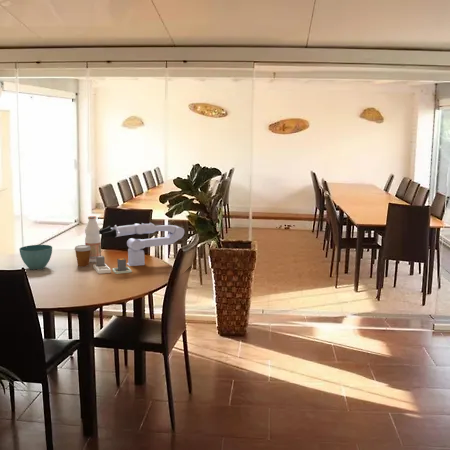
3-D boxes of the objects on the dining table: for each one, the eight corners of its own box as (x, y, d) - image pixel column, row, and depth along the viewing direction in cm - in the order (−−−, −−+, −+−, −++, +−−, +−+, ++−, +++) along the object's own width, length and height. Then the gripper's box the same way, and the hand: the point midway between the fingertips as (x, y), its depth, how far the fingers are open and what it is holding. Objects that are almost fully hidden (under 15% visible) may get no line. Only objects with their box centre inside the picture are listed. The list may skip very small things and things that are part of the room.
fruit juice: (90, 263, 343) (88, 218, 339) (83, 260, 350) (81, 216, 346) (104, 261, 349) (102, 216, 345) (97, 258, 356) (95, 214, 352)
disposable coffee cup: (87, 268, 331) (86, 248, 329) (72, 267, 333) (71, 247, 331) (94, 264, 340) (93, 245, 339) (79, 264, 342) (78, 244, 340)
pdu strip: (105, 267, 334) (105, 263, 334) (110, 273, 319) (110, 269, 319) (93, 268, 331) (93, 264, 331) (98, 274, 317) (98, 270, 316)
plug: (124, 270, 325) (124, 258, 324) (126, 271, 322) (125, 259, 321) (117, 270, 324) (117, 258, 323) (119, 272, 320) (118, 260, 319)
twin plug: (103, 267, 331) (103, 255, 330) (104, 268, 328) (104, 256, 327) (96, 268, 330) (96, 256, 329) (97, 269, 326) (97, 257, 325)
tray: (128, 269, 329) (127, 266, 328) (131, 273, 320) (131, 270, 320) (112, 270, 325) (112, 268, 325) (115, 274, 317) (115, 271, 317)
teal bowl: (43, 272, 321) (42, 251, 319) (14, 271, 324) (12, 250, 322) (58, 265, 338) (57, 245, 336) (31, 264, 342) (30, 244, 340)
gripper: (119, 221, 340) (97, 224, 334) (127, 226, 327) (104, 229, 321) (120, 233, 341) (98, 236, 335) (127, 238, 329) (105, 241, 323)
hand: (101, 233), depth 328 cm, fingers open, 7 cm apart
